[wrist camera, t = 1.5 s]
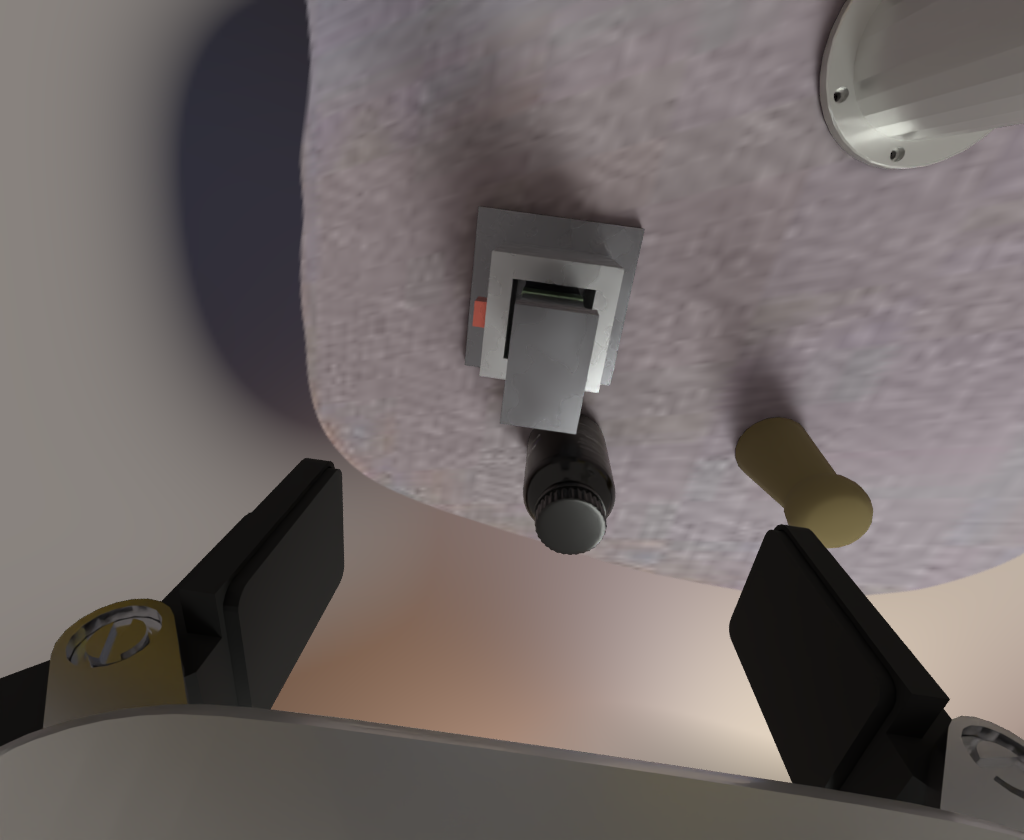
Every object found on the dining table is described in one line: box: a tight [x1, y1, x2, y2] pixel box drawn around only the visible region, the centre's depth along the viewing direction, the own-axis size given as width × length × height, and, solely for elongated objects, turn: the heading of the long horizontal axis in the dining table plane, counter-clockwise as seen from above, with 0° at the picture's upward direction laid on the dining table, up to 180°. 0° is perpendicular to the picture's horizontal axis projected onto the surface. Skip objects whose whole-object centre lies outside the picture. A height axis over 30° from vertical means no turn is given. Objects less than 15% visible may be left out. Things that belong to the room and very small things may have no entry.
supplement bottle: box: [523, 414, 615, 555], centre depth 38 cm, size 7×7×12 cm
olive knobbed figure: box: [735, 417, 873, 548], centre depth 37 cm, size 6×6×11 cm
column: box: [500, 280, 599, 434], centre depth 29 cm, size 6×4×17 cm, turn 173°
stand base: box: [465, 206, 644, 393], centre depth 34 cm, size 12×12×9 cm
